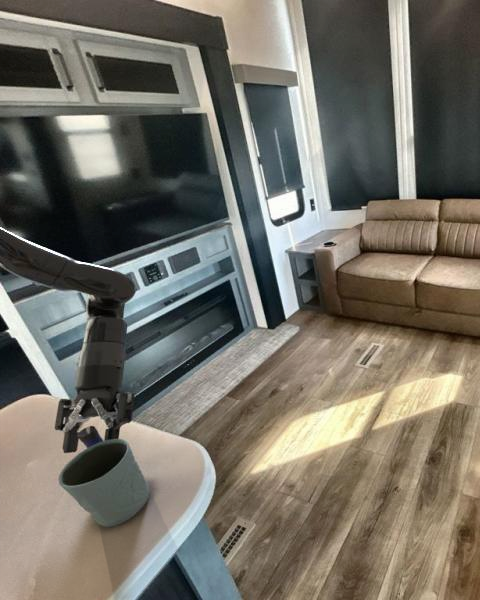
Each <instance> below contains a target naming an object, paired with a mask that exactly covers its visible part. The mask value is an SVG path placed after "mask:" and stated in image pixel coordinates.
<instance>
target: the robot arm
mask: <svg viewBox="0 0 480 600" xmlns="http://www.w3.org/2000/svg"><path fill="white" fill-rule="evenodd" d="M0 267H1V268H2V269H4V270H5V271H7V272H8V273H11V274H13V275H14V276H16V277H19V278H21V279H24V280H25V281H30V282H32V283H35V284H37V285H41V286H43V287H47V288H50V289H53V290H55V291H60V292H72V291H75V292H78V293H82V294H86V295H87V296H86V304H85V305H86V325H85V329H84V335H83V340H82V347H81V350H80V353H79V356H78V363H77V369H76V374H75V381H74V390H75V391H76V395H75V397H74V398H61V399H59V400H58V405H57V411H56V416H55V422H54V430H55V431H61V432H62V433H64V435H63V442H62V452H63V453H64V454H70V453H76V452H77V451H78V447H79V440H80V439H79V438H78V436H77V435H78V433H79V432H80V431H81V428H82V427H83V425H84V424H85V423H87V422H89V420H90V419H91V418H98V417H99V418H100V419H101V420H102V421H104V423H105V425H106V429H105V431H104V439H103V440H104V441H106V440H112V439H120V432H121V428H122V426H124V425H126V424H130V423H131V422H132V420H133V412H134V403H135V393H134V392H130V391H129V392H127V391H125V392H124V391H122V392H120V389H121V388H122V386H123V379H124V371H125V363H126V344H127V343H126V342H127V336H128V335H127V334H128V323H127V321H126V320H125V318H124V317H125V307H126V304H127V303H128V302H130V301H131V300H132V299H133V298H134V296H135V295H136V293H137V287H136V284H135V282H134V280H132V278H131V277H129V276H128V275H126V274H125V273H123V272H121V271H119V270H115V269H112V268H109V267H105V266H101V265H97V264H92V263H88V262H84V261H83V262H82V261H80V260H76V259H75V258H72V257H69V256H67V255H65V254H62V253H59V252H57V251H54V250H52V249H50V248H47V247H44V246H42V245H39V244H37V243H35V242H32V241H30V240H27V239H25V238H23V237H21V236H19V235H16V234H14V233H13V232H11V231H9V230H7V229H4V228H2V227H1V226H0ZM117 403H118V405H117V406H116V404H117Z"/></svg>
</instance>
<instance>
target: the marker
mask: <svg viewBox="0 0 480 600" xmlns="http://www.w3.org/2000/svg"><path fill="white" fill-rule="evenodd" d="M78 432H79V433H78V435H77V436H78V438H79V440H80V442H81V443H82V444H83V445H84V447H85V448H86V449H87V448H89V447H91V446H93V445H95V444H97V443H100V442H103V441H104V439H103V438H102V436H101V434H100V433H99V431H98V429H97V428H96V426H94V425H90V426H86V427H84V428H82V429H80V430H79V431H78Z"/></svg>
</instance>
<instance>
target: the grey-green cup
mask: <svg viewBox="0 0 480 600" xmlns="http://www.w3.org/2000/svg"><path fill="white" fill-rule="evenodd" d="M57 481H58V484H59V486H60V487H61V488H62V489H63V490H64V491H65V492H66V493H68V495H69V496H71V497H72V498H73V500H75V501H76V503H78V505H79V506H80V507H81V508H83V510H84V511H85V512H87V513H89V514H90V517H91V518H92V519H93V520H94V521H95V522H96V523H97V524H98V525H100V526H102V527H106V528H110V527H115V526H119V525H121V524H123V523H124V522H126V521H128V520H129V519H131V518H132V517H134V516H135V515H137V513H139V512H140V511H141V509H143V507H144V506H145V505H146V503H147V501H148V500H149V497H150V493H151V490H150V487H149V484H148V482H147V480H146V478H145V476H144V474H143V471H142V469H141V468H140V465H139V463H138V462H137V461H136V459H135V456H134V453H133V451H132V448H131V446H130V444H129V442H128V441H127V440H125V439H121V438H119V439H112V440H106V441H103V442H100V443H97V444H95V445H93V446H91V447H89V448H87V447H86V449H84V450H82V451H81V452H79V453H78V454H76V455H75V456H74V457H72V459H70V460H69V461H68V462H67V463H66V464H65V466H64V467H63V468H62V469H61V471H60V473H59V475H58V479H57Z"/></svg>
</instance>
